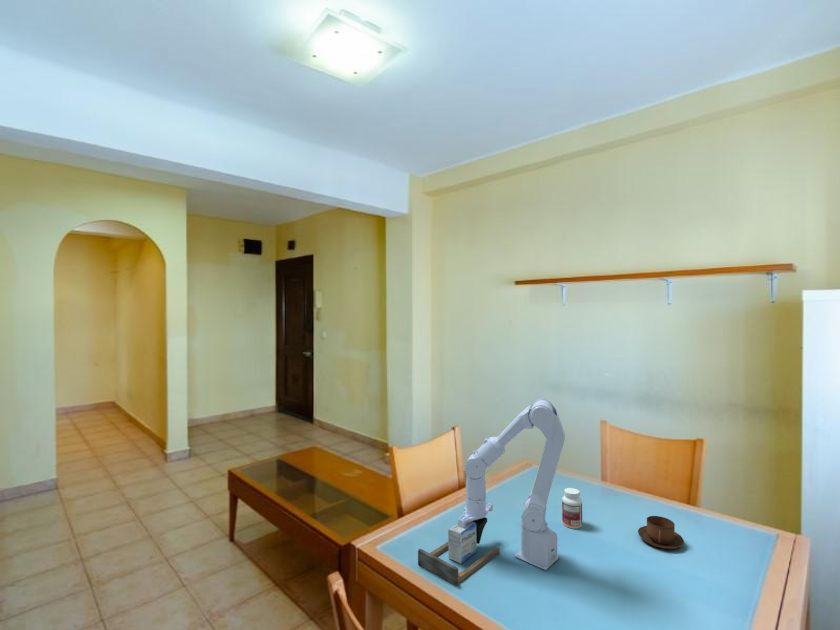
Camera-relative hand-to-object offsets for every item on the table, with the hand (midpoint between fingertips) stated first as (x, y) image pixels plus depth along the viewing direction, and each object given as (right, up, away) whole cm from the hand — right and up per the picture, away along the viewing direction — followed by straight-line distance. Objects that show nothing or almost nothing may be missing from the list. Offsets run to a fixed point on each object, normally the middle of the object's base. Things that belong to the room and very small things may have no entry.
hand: (476, 542), depth 127 cm
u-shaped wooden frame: (-5, -2, -6) cm, 8 cm away
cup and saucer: (+56, -2, +3) cm, 56 cm away
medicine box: (-4, -2, -4) cm, 6 cm away
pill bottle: (+33, -1, +13) cm, 35 cm away
